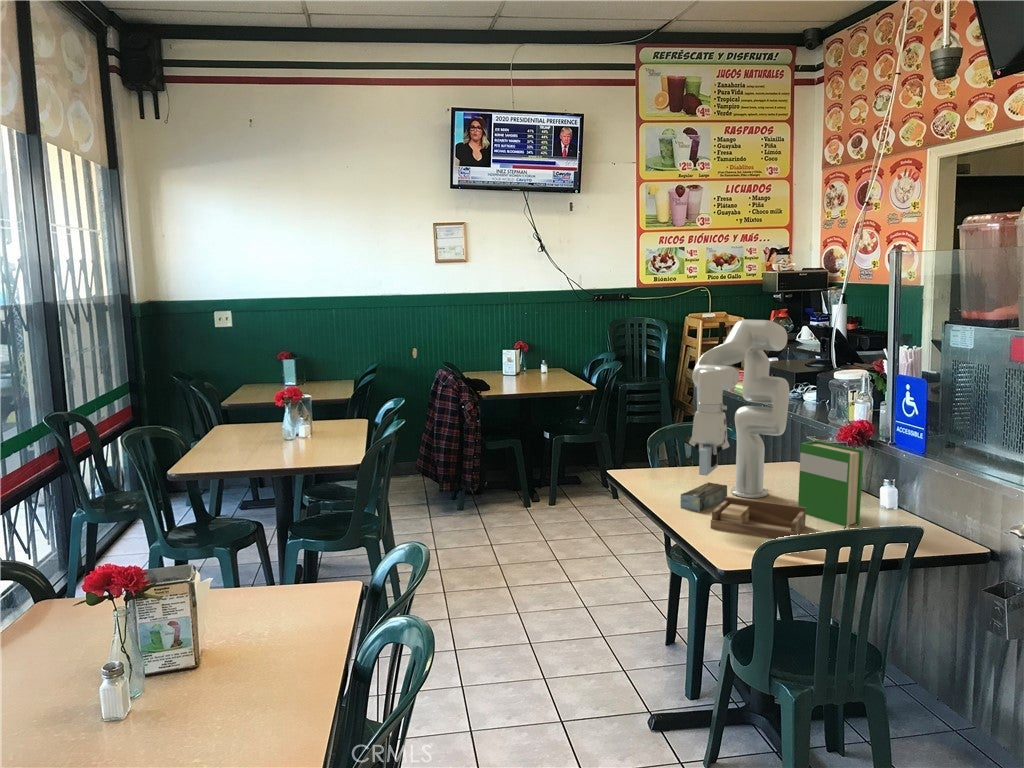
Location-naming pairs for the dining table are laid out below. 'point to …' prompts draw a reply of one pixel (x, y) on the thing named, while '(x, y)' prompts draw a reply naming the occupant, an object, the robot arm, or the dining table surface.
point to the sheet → (706, 460)
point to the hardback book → (831, 482)
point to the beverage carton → (704, 497)
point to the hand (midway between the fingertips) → (708, 465)
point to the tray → (762, 518)
